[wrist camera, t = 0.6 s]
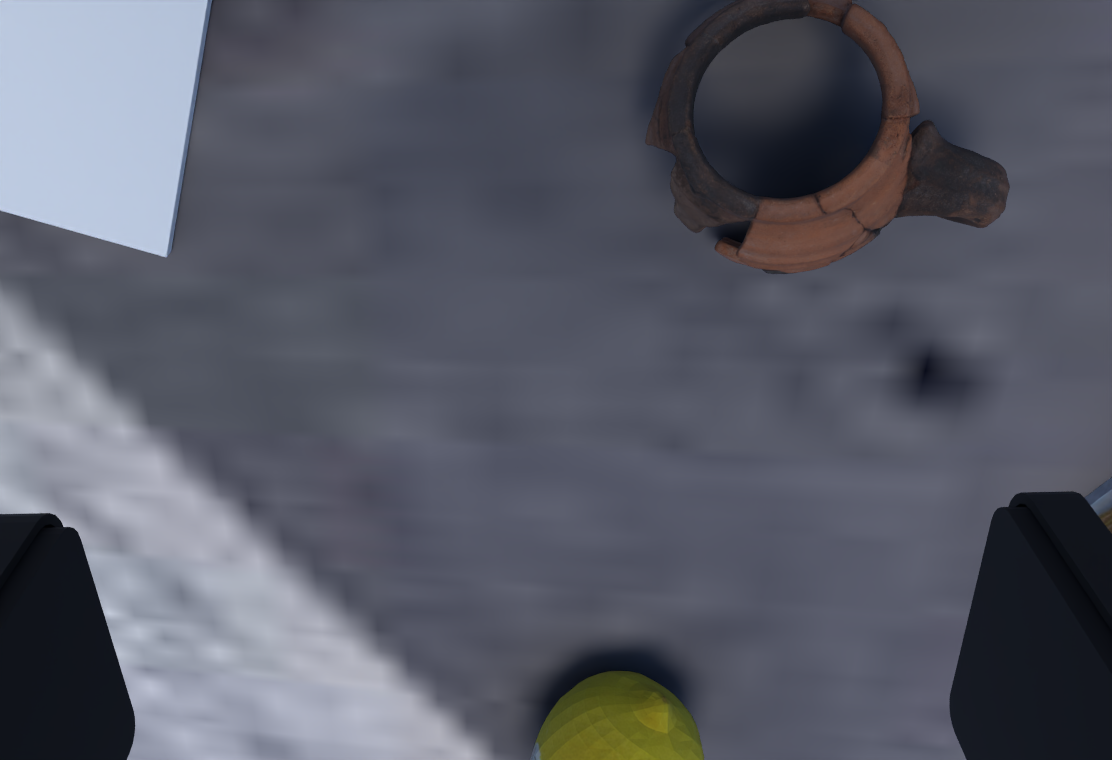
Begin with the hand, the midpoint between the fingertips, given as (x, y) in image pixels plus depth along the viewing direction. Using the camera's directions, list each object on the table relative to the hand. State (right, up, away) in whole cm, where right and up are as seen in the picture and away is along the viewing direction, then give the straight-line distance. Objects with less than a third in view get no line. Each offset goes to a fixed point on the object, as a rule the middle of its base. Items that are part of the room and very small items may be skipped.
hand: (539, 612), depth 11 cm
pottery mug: (+9, +12, +27) cm, 31 cm away
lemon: (+3, -14, +41) cm, 44 cm away
